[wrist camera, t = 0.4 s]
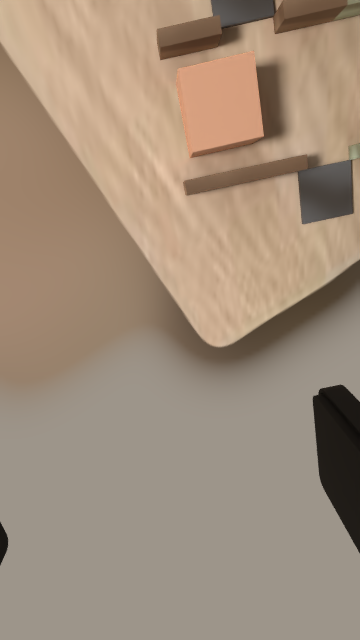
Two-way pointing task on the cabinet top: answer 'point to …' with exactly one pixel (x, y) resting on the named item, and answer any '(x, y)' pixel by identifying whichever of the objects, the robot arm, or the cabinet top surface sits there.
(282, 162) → the trap lane
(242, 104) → the salmon block
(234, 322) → the cabinet top surface
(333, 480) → the robot arm
